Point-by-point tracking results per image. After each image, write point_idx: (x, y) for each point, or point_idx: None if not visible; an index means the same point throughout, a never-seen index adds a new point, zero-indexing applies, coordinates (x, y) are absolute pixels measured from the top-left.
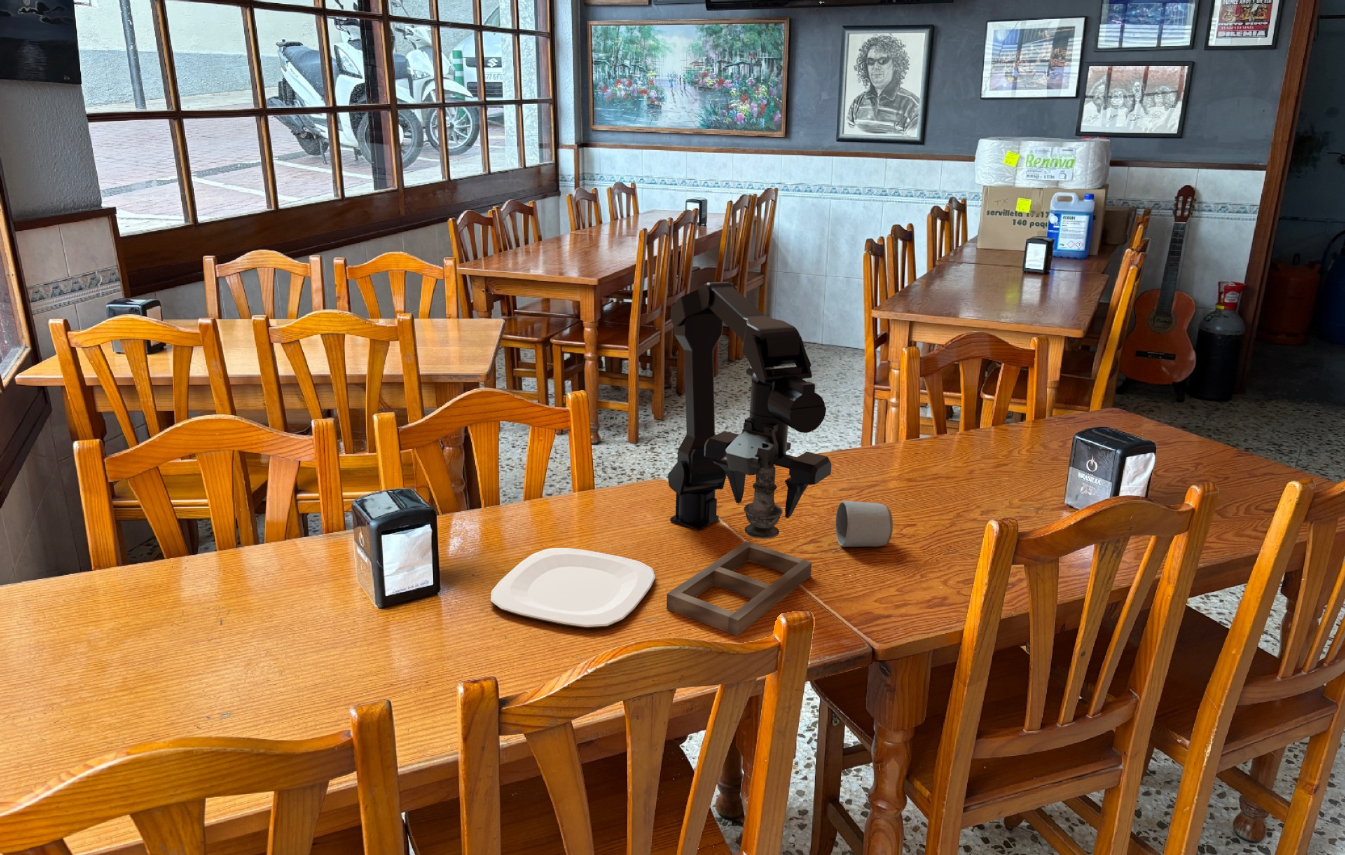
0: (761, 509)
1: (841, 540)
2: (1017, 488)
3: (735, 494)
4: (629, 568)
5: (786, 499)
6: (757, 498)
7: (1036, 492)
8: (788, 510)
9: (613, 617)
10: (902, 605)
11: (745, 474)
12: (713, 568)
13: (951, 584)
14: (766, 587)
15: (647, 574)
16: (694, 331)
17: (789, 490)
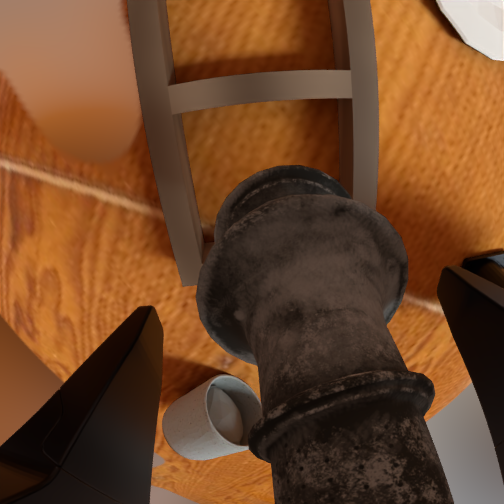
0: (288, 270)
1: (238, 384)
2: (190, 488)
3: (484, 286)
4: (489, 20)
5: (100, 392)
6: (350, 319)
7: (176, 488)
8: (116, 337)
9: None
10: (30, 286)
11: (487, 415)
12: (359, 79)
13: (56, 367)
14: (169, 91)
15: (456, 9)
16: None
17: (44, 457)
